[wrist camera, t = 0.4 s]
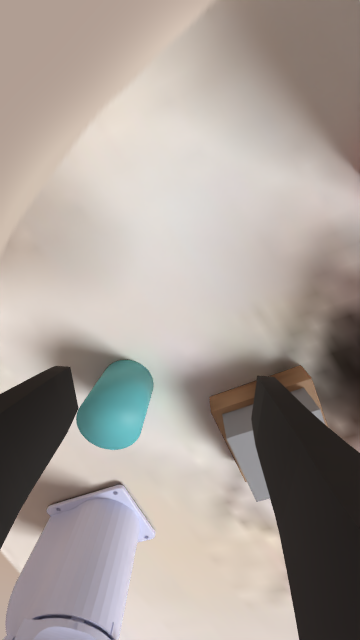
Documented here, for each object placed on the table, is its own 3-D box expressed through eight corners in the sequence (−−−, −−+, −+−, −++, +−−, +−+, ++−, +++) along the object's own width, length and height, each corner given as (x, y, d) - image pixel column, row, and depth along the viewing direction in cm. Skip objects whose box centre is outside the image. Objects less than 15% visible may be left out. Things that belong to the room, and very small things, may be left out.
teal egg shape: (118, 410, 22) (97, 456, 18) (93, 370, 21) (63, 408, 17) (162, 394, 22) (152, 438, 17) (138, 352, 20) (121, 386, 16)
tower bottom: (240, 457, 24) (245, 481, 22) (209, 393, 22) (210, 411, 20) (323, 433, 23) (338, 456, 20) (298, 362, 21) (311, 378, 18)
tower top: (249, 472, 21) (256, 501, 19) (222, 414, 20) (226, 438, 17) (325, 450, 20) (343, 479, 18) (303, 387, 18) (320, 409, 16)
